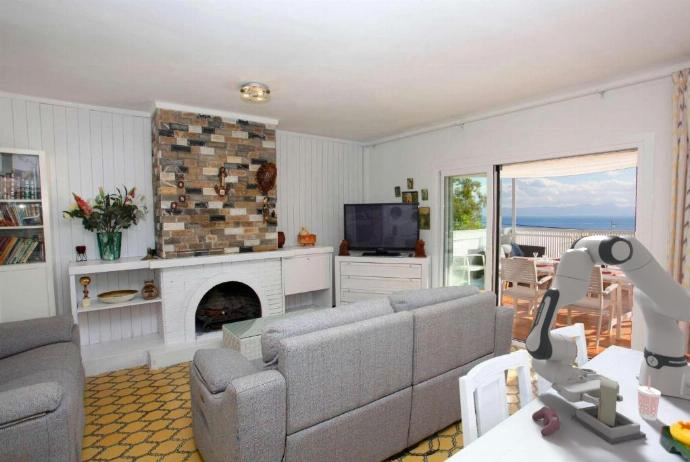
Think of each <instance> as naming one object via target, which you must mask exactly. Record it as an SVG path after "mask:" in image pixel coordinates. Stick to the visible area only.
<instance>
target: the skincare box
mask: <svg viewBox="0 0 690 462" xmlns="http://www.w3.org/2000/svg"><path fill="white" fill-rule="evenodd" d="M609 379H610V378H609ZM609 379H605V378H601V382H600V392H599V398H598V399H600V400H601V401H602V402H601V405H599V406H598V420H599V421H600V422H602V423H604V424H607V425H610V426H613V427H614V424H615V416H616V412H617V403H618V401H617V387H618V384H619V382H618V381H615V380H614V379H611V380H609Z"/></svg>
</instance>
